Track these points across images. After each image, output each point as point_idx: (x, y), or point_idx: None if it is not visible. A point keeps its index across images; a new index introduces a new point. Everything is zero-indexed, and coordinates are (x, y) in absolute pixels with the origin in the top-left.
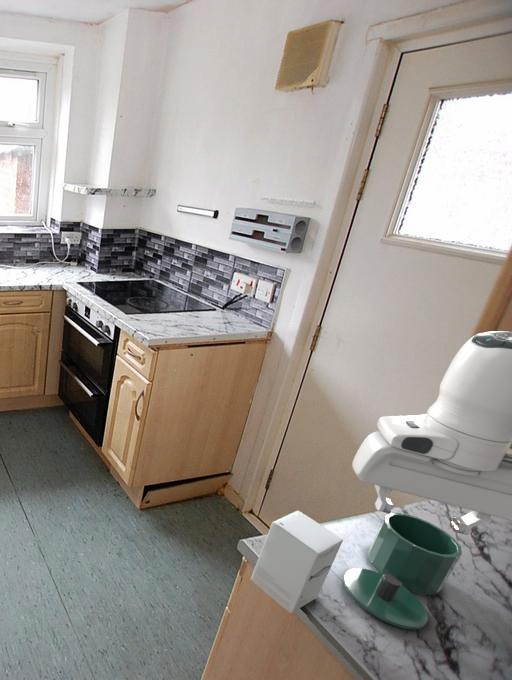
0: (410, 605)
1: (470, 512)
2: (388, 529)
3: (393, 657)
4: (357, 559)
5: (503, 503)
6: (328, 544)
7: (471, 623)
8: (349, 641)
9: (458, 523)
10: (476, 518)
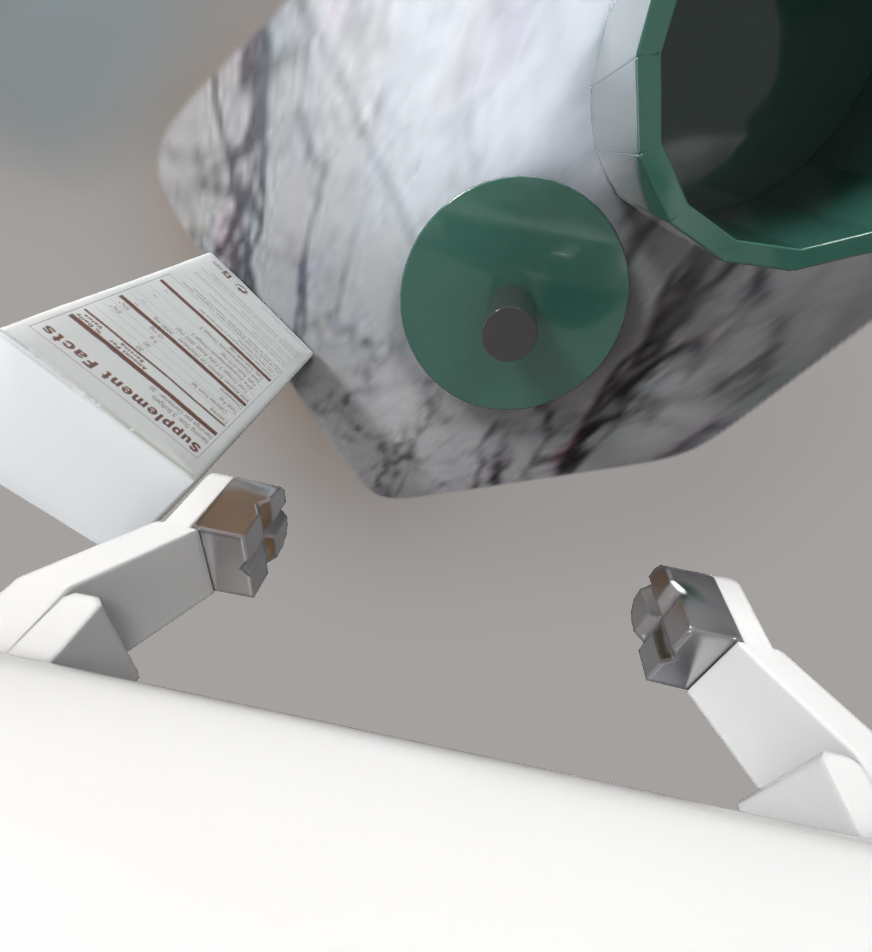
0: (574, 332)
1: (813, 726)
2: (633, 52)
3: (440, 468)
4: (542, 62)
5: None
6: (143, 517)
7: (771, 318)
8: (361, 451)
9: (648, 665)
10: (763, 767)
